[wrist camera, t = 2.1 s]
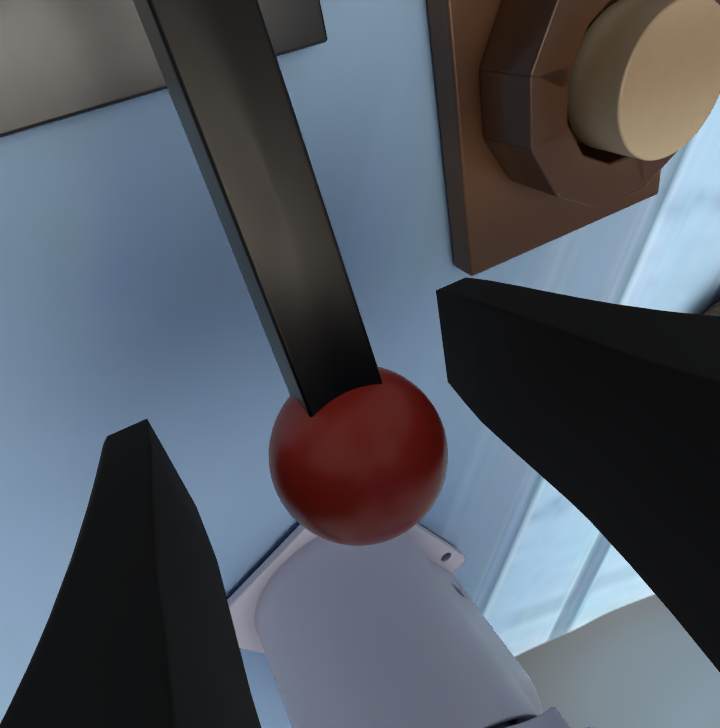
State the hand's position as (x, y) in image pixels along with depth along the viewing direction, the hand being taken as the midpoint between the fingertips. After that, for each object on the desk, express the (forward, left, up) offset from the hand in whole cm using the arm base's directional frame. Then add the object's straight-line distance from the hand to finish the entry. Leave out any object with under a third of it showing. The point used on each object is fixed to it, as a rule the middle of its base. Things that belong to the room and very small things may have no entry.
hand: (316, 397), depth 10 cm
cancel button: (-4, -11, -5) cm, 12 cm away
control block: (-4, -11, -7) cm, 14 cm away
